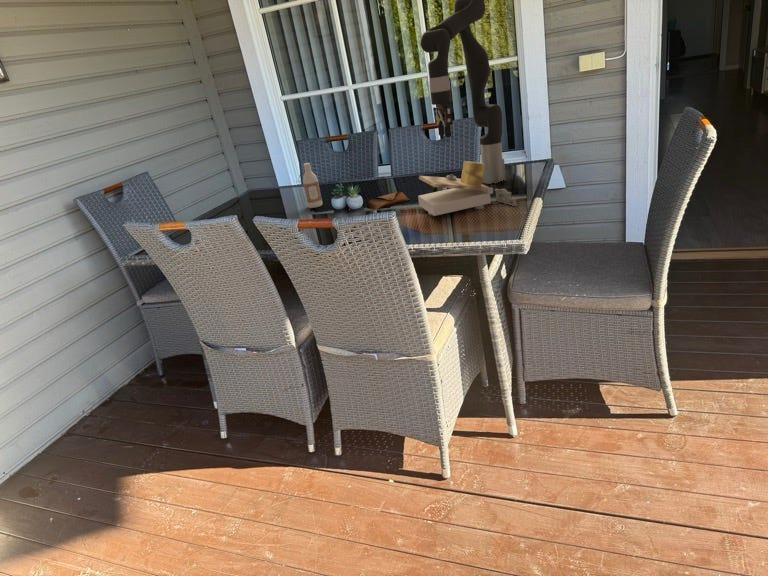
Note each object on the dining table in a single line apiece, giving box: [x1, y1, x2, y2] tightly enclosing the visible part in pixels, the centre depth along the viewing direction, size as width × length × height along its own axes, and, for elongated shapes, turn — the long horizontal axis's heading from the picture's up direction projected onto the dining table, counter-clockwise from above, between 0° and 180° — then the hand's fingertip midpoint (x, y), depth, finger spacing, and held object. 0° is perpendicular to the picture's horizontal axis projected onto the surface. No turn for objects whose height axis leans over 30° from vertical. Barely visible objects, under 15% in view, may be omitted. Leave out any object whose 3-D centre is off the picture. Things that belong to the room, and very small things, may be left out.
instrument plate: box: [418, 160, 490, 191], centre depth 197 cm, size 23×18×10 cm
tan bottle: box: [302, 162, 323, 209], centre depth 238 cm, size 7×7×20 cm
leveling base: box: [417, 187, 494, 217], centre depth 201 cm, size 24×21×8 cm
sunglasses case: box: [366, 190, 411, 211], centre depth 225 cm, size 18×7×7 cm, turn 118°
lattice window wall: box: [494, 188, 517, 207], centre depth 197 cm, size 12×2×6 cm, turn 23°
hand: (444, 135), depth 196 cm, fingers open, 6 cm apart
